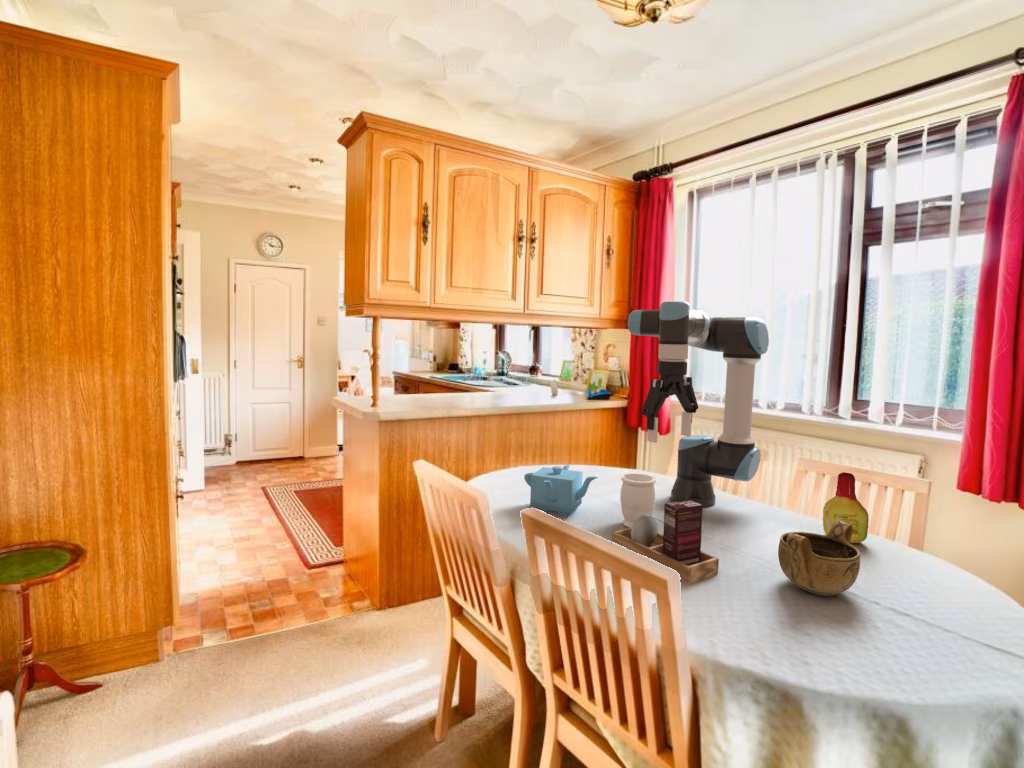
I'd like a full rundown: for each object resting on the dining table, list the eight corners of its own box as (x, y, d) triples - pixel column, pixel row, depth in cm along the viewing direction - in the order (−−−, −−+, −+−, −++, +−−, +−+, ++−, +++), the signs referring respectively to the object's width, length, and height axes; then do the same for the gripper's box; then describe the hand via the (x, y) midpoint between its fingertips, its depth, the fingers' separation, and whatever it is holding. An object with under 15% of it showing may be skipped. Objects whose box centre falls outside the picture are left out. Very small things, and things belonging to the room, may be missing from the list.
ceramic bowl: (824, 617, 118) (830, 549, 116) (753, 584, 132) (757, 523, 131) (877, 592, 130) (883, 530, 128) (807, 565, 144) (811, 509, 142)
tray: (639, 538, 160) (641, 505, 159) (717, 574, 138) (720, 535, 137) (611, 546, 154) (612, 511, 153) (688, 584, 132) (690, 543, 131)
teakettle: (519, 505, 188) (520, 462, 186) (568, 499, 195) (569, 458, 194) (544, 524, 170) (546, 477, 169) (597, 516, 178) (598, 471, 176)
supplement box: (687, 558, 144) (690, 499, 142) (700, 566, 140) (704, 504, 138) (660, 563, 141) (663, 502, 139) (673, 571, 136) (676, 508, 135)
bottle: (816, 534, 166) (822, 469, 164) (828, 531, 170) (833, 467, 168) (859, 548, 156) (865, 479, 154) (870, 544, 160) (876, 476, 158)
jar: (654, 532, 165) (656, 483, 163) (618, 529, 167) (621, 480, 165) (652, 520, 175) (655, 474, 174) (619, 517, 177) (621, 471, 176)
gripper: (691, 357, 157) (687, 430, 160) (628, 361, 143) (626, 441, 146) (714, 359, 151) (710, 435, 154) (651, 363, 137) (648, 447, 140)
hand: (669, 438), depth 150 cm, fingers open, 13 cm apart
